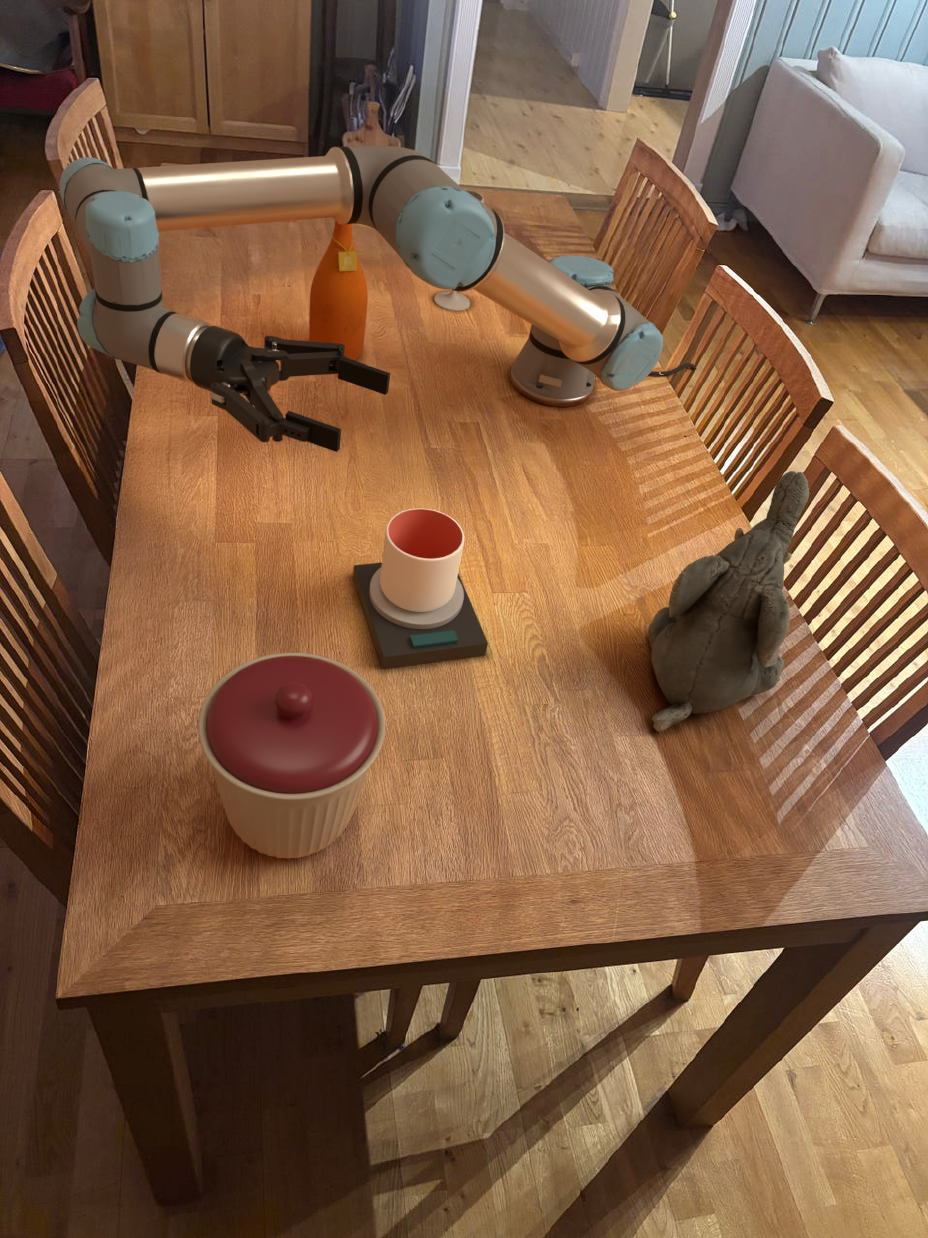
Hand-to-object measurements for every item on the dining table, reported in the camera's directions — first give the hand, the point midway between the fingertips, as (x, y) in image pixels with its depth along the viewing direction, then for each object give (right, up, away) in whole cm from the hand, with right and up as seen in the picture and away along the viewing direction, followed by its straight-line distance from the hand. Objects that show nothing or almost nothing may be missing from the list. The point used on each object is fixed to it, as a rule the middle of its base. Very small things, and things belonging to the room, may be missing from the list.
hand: (364, 411), depth 113 cm
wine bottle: (-11, +23, +60) cm, 66 cm away
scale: (+5, -24, +17) cm, 30 cm away
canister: (-8, -46, -6) cm, 47 cm away
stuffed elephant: (+43, -32, +17) cm, 57 cm away
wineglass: (+9, +39, +80) cm, 89 cm away
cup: (+5, -21, +16) cm, 27 cm away
